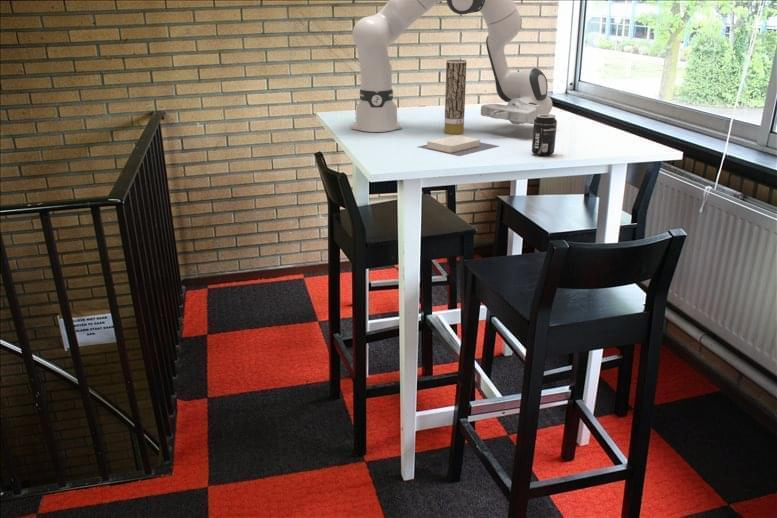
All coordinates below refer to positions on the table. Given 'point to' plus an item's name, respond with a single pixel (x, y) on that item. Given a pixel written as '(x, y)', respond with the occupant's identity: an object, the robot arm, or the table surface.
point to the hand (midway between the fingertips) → (494, 115)
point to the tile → (453, 144)
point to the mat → (482, 147)
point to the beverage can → (544, 135)
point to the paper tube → (455, 96)
